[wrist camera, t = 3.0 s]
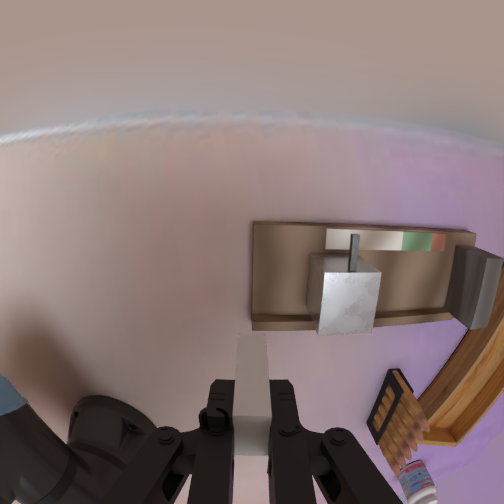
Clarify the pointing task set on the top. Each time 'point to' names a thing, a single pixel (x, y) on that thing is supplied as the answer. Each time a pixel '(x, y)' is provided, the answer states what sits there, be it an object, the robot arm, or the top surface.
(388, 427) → the ammunition clip
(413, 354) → the top surface
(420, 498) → the pill bottle
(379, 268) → the brown tray with block
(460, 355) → the tray
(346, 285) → the cube with dark rod
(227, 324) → the top surface
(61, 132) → the top surface
